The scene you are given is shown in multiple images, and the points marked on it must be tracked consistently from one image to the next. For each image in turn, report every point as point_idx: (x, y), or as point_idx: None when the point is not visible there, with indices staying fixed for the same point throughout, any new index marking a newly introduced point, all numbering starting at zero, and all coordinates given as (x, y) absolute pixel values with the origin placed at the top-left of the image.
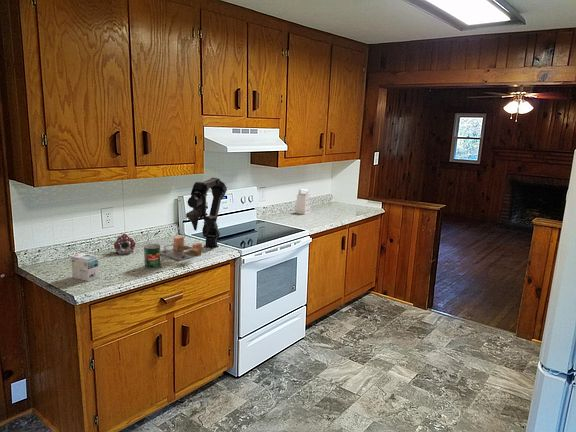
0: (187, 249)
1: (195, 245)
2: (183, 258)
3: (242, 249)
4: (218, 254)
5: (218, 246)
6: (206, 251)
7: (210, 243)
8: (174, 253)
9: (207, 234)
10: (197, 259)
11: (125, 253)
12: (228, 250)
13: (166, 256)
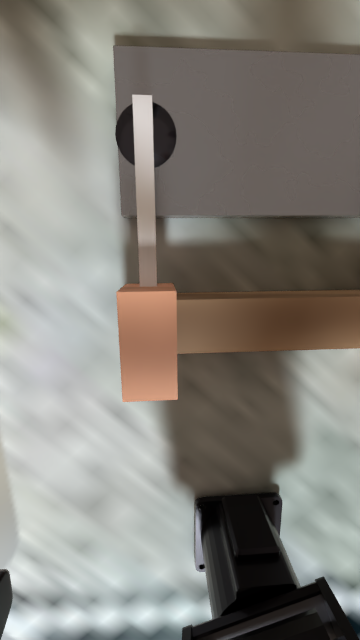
0: (264, 295)
1: (121, 290)
2: (116, 101)
3: (22, 628)
4: (42, 442)
5: (195, 561)
6: (175, 431)
7: (223, 538)
8: (308, 163)
9: (271, 627)
10: (49, 226)
11: None
12: (73, 553)
13: (318, 60)
